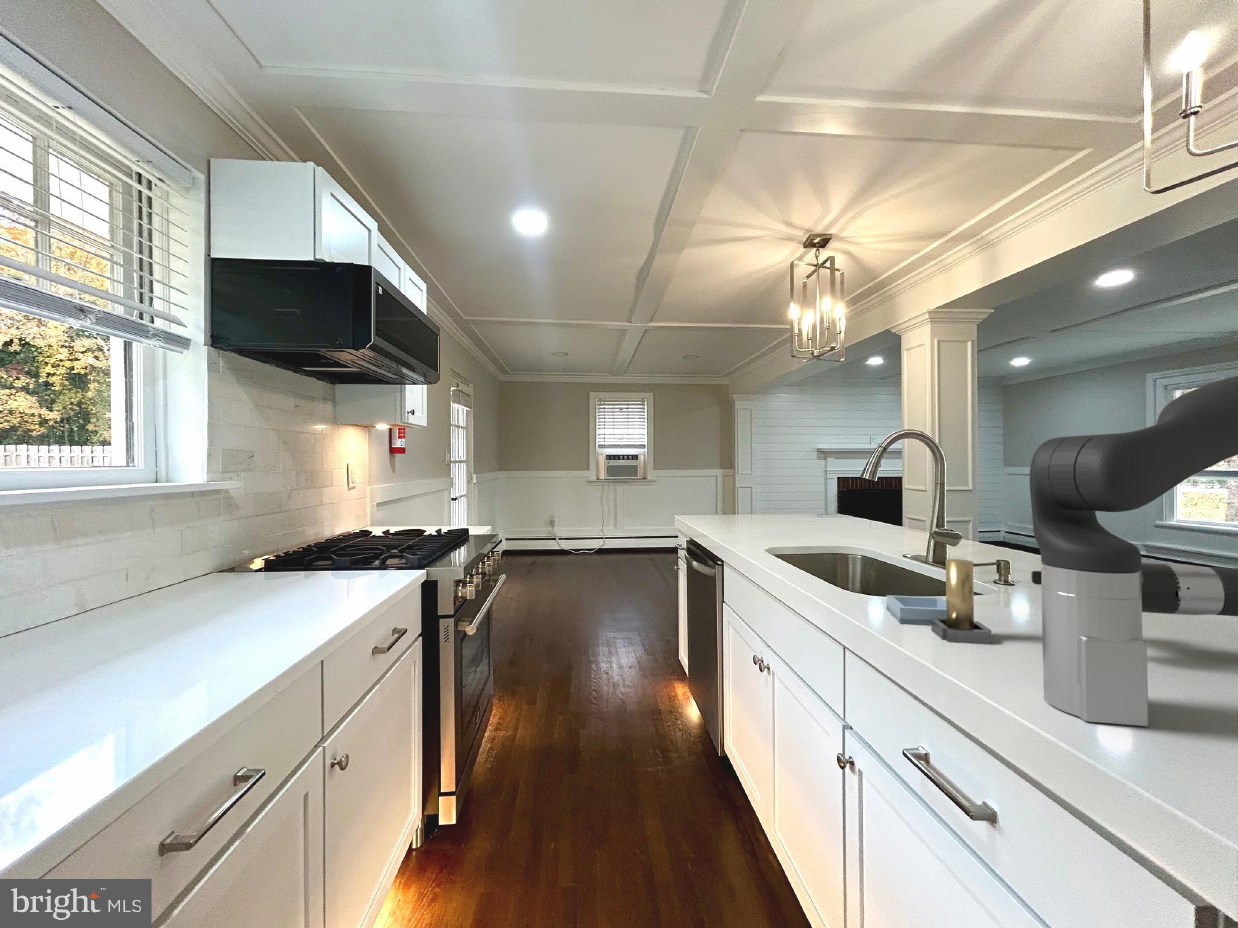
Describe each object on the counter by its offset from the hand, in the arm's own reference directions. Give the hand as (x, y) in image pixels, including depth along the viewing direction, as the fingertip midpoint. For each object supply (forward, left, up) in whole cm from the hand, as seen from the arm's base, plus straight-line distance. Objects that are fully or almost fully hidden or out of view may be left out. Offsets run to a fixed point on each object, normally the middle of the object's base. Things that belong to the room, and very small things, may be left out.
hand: (1039, 582), depth 89 cm
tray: (+13, +14, -10) cm, 22 cm away
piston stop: (+2, +11, -10) cm, 15 cm away
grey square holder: (+2, +11, -10) cm, 15 cm away
